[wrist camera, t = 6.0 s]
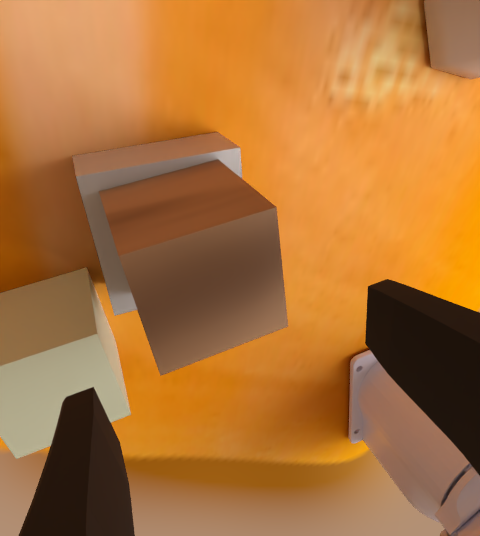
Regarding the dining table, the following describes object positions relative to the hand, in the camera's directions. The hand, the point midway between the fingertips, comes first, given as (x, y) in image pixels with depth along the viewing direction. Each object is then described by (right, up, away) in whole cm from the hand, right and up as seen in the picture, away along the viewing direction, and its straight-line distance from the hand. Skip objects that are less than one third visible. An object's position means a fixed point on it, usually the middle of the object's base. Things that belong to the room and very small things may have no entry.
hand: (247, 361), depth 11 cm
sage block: (-9, 0, +9) cm, 13 cm away
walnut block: (-3, +4, +6) cm, 8 cm away
